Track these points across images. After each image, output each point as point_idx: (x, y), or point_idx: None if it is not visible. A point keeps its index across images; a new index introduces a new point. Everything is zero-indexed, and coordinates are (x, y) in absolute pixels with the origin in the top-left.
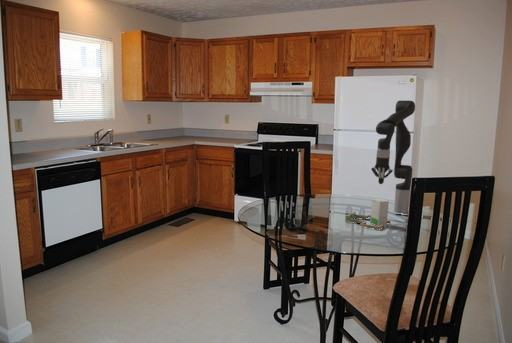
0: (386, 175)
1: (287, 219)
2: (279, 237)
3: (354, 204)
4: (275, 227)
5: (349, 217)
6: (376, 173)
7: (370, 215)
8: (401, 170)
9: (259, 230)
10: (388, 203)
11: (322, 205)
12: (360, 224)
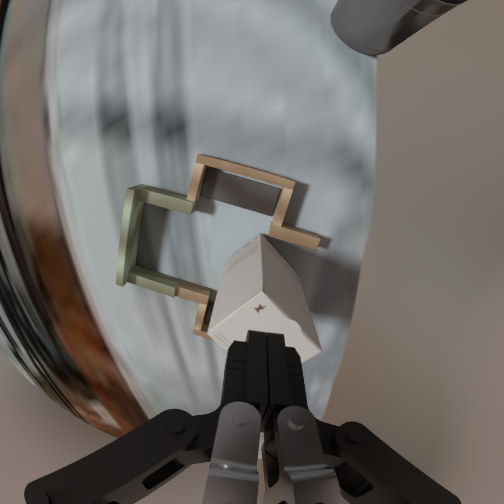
0: (340, 481)
1: (8, 294)
2: (80, 417)
3: None
4: (35, 365)
5: (129, 257)
6: (164, 482)
7: (214, 160)
8: None
9: (34, 384)
10: (319, 342)
11: (27, 47)
12: (194, 333)
